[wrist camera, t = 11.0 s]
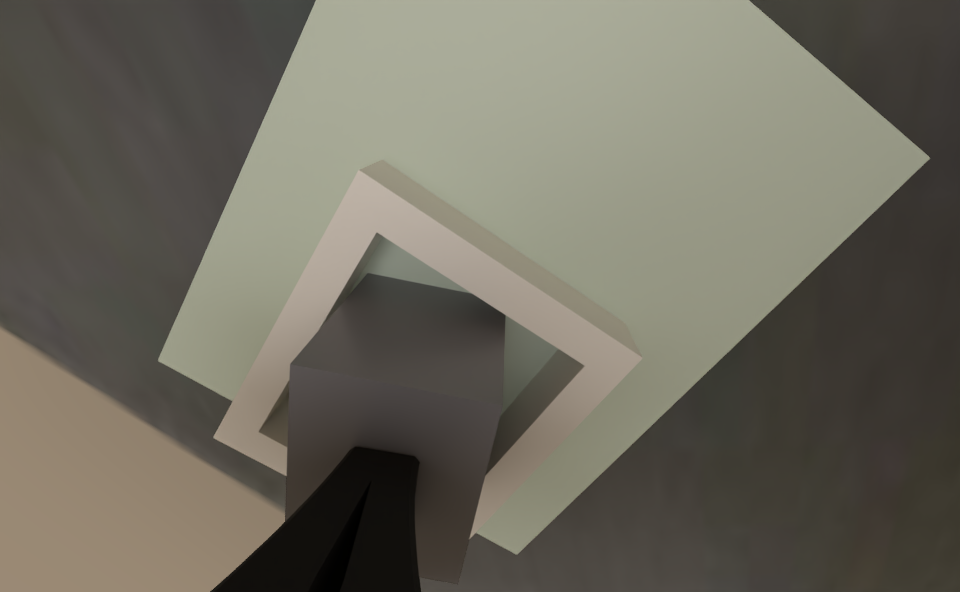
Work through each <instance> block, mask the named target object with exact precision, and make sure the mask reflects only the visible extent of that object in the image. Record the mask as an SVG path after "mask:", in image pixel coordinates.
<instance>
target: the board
mask: <svg viewBox="0 0 960 592" xmlns="http://www.w3.org/2000/svg"><path fill="white" fill-rule="evenodd" d="M929 159H930V157H929V156H928V155H926V154H925V153H924V152H923V151H922V150H921V149H919V148H918V147H917V146H916V145H915V144H914V143H913V142H911V141H910V140H909V139H908V138H907V137H906V136H904V135H903V134H902V133H901V132H900V131H899V130H898V129H896V128H895V127H894V126H893V125H892V124H891V123H890V122H888V121H887V120H886V119H885V118H884V117H883V116H881V115H880V114H879V113H878V112H877V111H876V110H875V109H873V108H872V107H871V106H870V105H869V104H868V103H867V102H865V101H864V100H863V99H862V98H861V97H860V96H858V95H857V94H856V93H855V92H854V91H853V90H852V89H850V88H849V87H848V86H847V85H846V84H845V83H843V82H842V81H841V80H840V79H839V78H838V77H837V76H835V75H834V74H833V73H832V72H831V71H830V70H829V69H827V68H826V67H825V66H824V65H823V64H822V63H820V62H819V61H818V60H817V59H816V58H815V57H814V56H812V55H811V54H810V53H809V52H808V51H807V50H805V49H804V48H803V47H802V46H801V45H800V44H799V43H797V42H796V41H795V40H794V39H793V38H792V37H791V36H789V35H788V34H787V33H786V32H785V31H784V30H782V29H781V28H780V27H779V26H778V25H777V24H776V23H774V22H773V21H772V20H771V19H770V18H769V17H768V16H766V15H765V14H764V13H763V12H762V11H761V10H759V9H758V8H757V7H756V6H755V5H754V4H753V3H751V2H750V1H749V0H316V2H315V4H314V6H313V9H312V11H311V13H310V15H309V18H308V20H307V22H306V25H305V27H304V29H303V31H302V34H301V36H300V38H299V40H298V43H297V45H296V47H295V50H294V52H293V54H292V56H291V59H290V61H289V63H288V65H287V68H286V70H285V72H284V75H283V77H282V79H281V81H280V84H279V86H278V88H277V91H276V93H275V95H274V97H273V100H272V102H271V104H270V106H269V109H268V111H267V113H266V116H265V118H264V120H263V122H262V125H261V127H260V129H259V131H258V134H257V136H256V138H255V141H254V143H253V145H252V147H251V150H250V152H249V154H248V156H247V159H246V161H245V163H244V166H243V168H242V170H241V172H240V175H239V177H238V179H237V182H236V184H235V186H234V188H233V191H232V193H231V195H230V197H229V200H228V202H227V204H226V207H225V209H224V211H223V213H222V216H221V218H220V220H219V222H218V225H217V227H216V229H215V232H214V234H213V236H212V238H211V241H210V243H209V245H208V248H207V250H206V252H205V254H204V257H203V259H202V261H201V263H200V266H199V268H198V270H197V273H196V275H195V277H194V279H193V282H192V284H191V286H190V288H189V291H188V293H187V295H186V298H185V300H184V302H183V304H182V307H181V309H180V311H179V314H178V316H177V318H176V320H175V323H174V325H173V327H172V329H171V332H170V334H169V336H168V339H167V341H166V343H165V345H164V348H163V350H162V352H161V354H160V357H159V359H158V361H159V362H161V363H163V364H165V365H167V366H168V367H170V368H172V369H174V370H176V371H178V372H180V373H181V374H183V375H185V376H187V377H189V378H191V379H193V380H194V381H196V382H198V383H200V384H202V385H204V386H205V387H207V388H209V389H211V390H213V391H215V392H217V393H218V394H220V395H222V396H224V397H226V398H228V399H230V400H231V401H233V400H234V398H235V396H236V395H237V393H238V391H239V389H240V387H241V385H242V383H243V382H244V380H245V378H246V376H247V374H248V372H249V371H250V369H251V367H252V365H253V363H254V361H255V360H256V358H257V356H258V354H259V352H260V350H261V349H262V347H263V345H264V343H265V341H266V339H267V338H268V336H269V334H270V332H271V330H272V328H273V326H274V325H275V323H276V321H277V319H278V317H279V315H280V314H281V312H282V310H283V308H284V306H285V304H286V303H287V301H288V299H289V297H290V295H291V293H292V292H293V290H294V288H295V286H296V284H297V282H298V281H299V279H300V277H301V275H302V273H303V271H304V269H305V268H306V266H307V264H308V262H309V260H310V258H311V257H312V255H313V253H314V251H315V249H316V247H317V246H318V244H319V242H320V240H321V238H322V236H323V235H324V233H325V231H326V229H327V227H328V225H329V224H330V222H331V220H332V218H333V216H334V214H335V212H336V211H337V209H338V207H339V205H340V203H341V201H342V200H343V198H344V196H345V194H346V192H347V190H348V189H349V187H350V185H351V183H352V181H353V179H354V178H355V176H356V174H357V172H358V170H359V169H362V168H364V167H366V166H369V165H371V164H373V163H376V162H378V161H380V160H384V161H385V162H387V163H388V164H390V165H391V166H393V167H394V168H396V169H397V170H399V171H400V172H402V173H403V174H405V175H406V176H408V177H409V178H411V179H412V180H414V181H415V182H417V183H418V184H419V185H421V186H422V187H424V188H425V189H427V190H428V191H430V192H431V193H433V194H434V195H436V196H437V197H439V198H440V199H442V200H443V201H445V202H446V203H448V204H449V205H451V206H452V207H454V208H455V209H457V210H458V211H460V212H461V213H463V214H464V215H466V216H467V217H469V218H470V219H471V220H473V221H474V222H476V223H477V224H479V225H480V226H482V227H483V228H485V229H486V230H488V231H489V232H491V233H492V234H494V235H495V236H497V237H498V238H500V239H501V240H503V241H504V242H506V243H507V244H509V245H510V246H512V247H513V248H515V249H516V250H518V251H519V252H521V253H522V254H524V255H525V256H526V257H528V258H529V259H531V260H532V261H534V262H535V263H537V264H538V265H540V266H541V267H543V268H544V269H546V270H547V271H549V272H550V273H552V274H553V275H555V276H556V277H558V278H559V279H561V280H562V281H564V282H565V283H567V284H568V285H570V286H571V287H573V288H574V289H576V290H577V291H578V292H580V293H581V294H583V295H584V296H586V297H587V298H589V299H590V300H592V301H593V302H595V303H596V304H598V305H599V306H601V307H602V308H604V309H605V310H607V311H608V312H610V313H611V314H613V315H614V316H616V317H617V318H619V319H620V320H622V321H623V322H625V324H626V326H627V328H628V330H629V332H630V334H631V336H632V338H633V340H634V342H635V344H636V345H637V347H638V349H639V351H640V353H641V355H642V357H643V358H642V360H641V361H640V362H639V363H638V364H637V365H636V366H635V367H634V368H633V369H632V370H631V371H630V372H629V373H628V374H627V375H626V376H625V377H624V378H623V379H622V380H621V381H620V382H619V384H618V385H617V386H616V387H615V388H614V389H613V390H612V391H611V392H610V393H609V394H608V395H607V396H606V397H605V398H604V399H603V400H602V401H601V402H600V403H599V404H598V405H597V406H596V408H595V409H594V410H593V411H592V412H591V413H590V414H589V415H588V416H587V417H586V418H585V419H584V420H583V421H582V422H581V423H580V424H579V425H578V426H577V427H576V428H575V429H574V430H573V432H572V433H571V434H570V435H569V436H568V437H567V438H566V439H565V440H564V441H563V442H562V443H561V444H560V445H559V446H558V447H557V448H556V449H555V450H554V451H553V452H552V453H551V455H550V456H549V457H548V458H547V459H546V460H545V461H544V462H543V463H542V464H541V465H540V466H539V467H538V468H537V469H536V470H535V471H534V472H533V473H532V474H531V475H530V476H529V477H528V479H527V480H526V481H525V482H524V483H523V484H522V485H521V486H520V487H519V488H518V489H517V490H516V491H515V492H514V493H513V494H512V495H511V496H510V497H509V498H508V499H507V500H506V501H505V503H504V504H503V505H502V506H501V507H500V508H499V509H498V510H497V511H496V512H495V513H494V514H493V515H492V516H491V517H490V518H489V519H488V520H487V521H486V522H485V523H484V524H483V525H482V527H481V528H480V529H479V530H478V531H477V532H476V533H477V534H479V535H481V536H483V537H485V538H487V539H488V540H490V541H492V542H494V543H496V544H498V545H500V546H501V547H503V548H505V549H507V550H509V551H511V552H513V553H514V554H516V555H517V554H518V553H519V552H520V551H521V550H522V549H523V548H524V547H525V546H526V545H527V544H529V543H530V542H531V541H532V540H533V539H534V538H535V537H536V536H537V535H538V534H539V533H540V532H541V531H542V530H543V529H544V528H545V527H546V526H547V525H548V524H549V523H550V522H551V521H553V520H554V519H555V518H556V517H557V516H558V515H559V514H560V513H561V512H562V511H563V510H564V509H565V508H566V507H567V506H568V505H569V504H570V503H571V502H572V501H573V500H574V499H575V498H576V497H578V496H579V495H580V494H581V493H582V492H583V491H584V490H585V489H586V488H587V487H588V486H589V485H590V484H591V483H592V482H593V481H594V480H595V479H596V478H597V477H598V476H599V475H600V474H602V473H603V472H604V471H605V470H606V469H607V468H608V467H609V466H610V465H611V464H612V463H613V462H614V461H615V460H616V459H617V458H618V457H619V456H620V455H621V454H622V453H623V452H624V451H625V450H627V449H628V448H629V447H630V446H631V445H632V444H633V443H634V442H635V441H636V440H637V439H638V438H639V437H640V436H641V435H642V434H643V433H644V432H645V431H646V430H647V429H648V428H649V427H651V426H652V425H653V424H654V423H655V422H656V421H657V420H658V419H659V418H660V417H661V416H662V415H663V414H664V413H665V412H666V411H667V410H668V409H669V408H670V407H671V406H672V405H673V404H674V403H676V402H677V401H678V400H679V399H680V398H681V397H682V396H683V395H684V394H685V393H686V392H687V391H688V390H689V389H690V388H691V387H692V386H693V385H694V384H695V383H696V382H697V381H698V380H700V379H701V378H702V377H703V376H704V375H705V374H706V373H707V372H708V371H709V370H710V369H711V368H712V367H713V366H714V365H715V364H716V363H717V362H718V361H719V360H720V359H721V358H722V357H724V356H725V355H726V354H727V353H728V352H729V351H730V350H731V349H732V348H733V347H734V346H735V345H736V344H737V343H738V342H739V341H740V340H741V339H742V338H743V337H744V336H745V335H746V334H747V333H749V332H750V331H751V330H752V329H753V328H754V327H755V326H756V325H757V324H758V323H759V322H760V321H761V320H762V319H763V318H764V317H765V316H766V315H767V314H768V313H769V312H770V311H771V310H773V309H774V308H775V307H776V306H777V305H778V304H779V303H780V302H781V301H782V300H783V299H784V298H785V297H786V296H787V295H788V294H789V293H790V292H791V291H792V290H793V289H794V288H795V287H796V286H798V285H799V284H800V283H801V282H802V281H803V280H804V279H805V278H806V277H807V276H808V275H809V274H810V273H811V272H812V271H813V270H814V269H815V268H816V267H817V266H818V265H819V264H820V263H822V262H823V261H824V260H825V259H826V258H827V257H828V256H829V255H830V254H831V253H832V252H833V251H834V250H835V249H836V248H837V247H838V246H839V245H840V244H841V243H842V242H843V241H844V240H845V239H847V238H848V237H849V236H850V235H851V234H852V233H853V232H854V231H855V230H856V229H857V228H858V227H859V226H860V225H861V224H862V223H863V222H864V221H865V220H866V219H867V218H868V217H869V216H871V215H872V214H873V213H874V212H875V211H876V210H877V209H878V208H879V207H880V206H881V205H882V204H883V203H884V202H885V201H886V200H887V199H888V198H889V197H890V196H891V195H892V194H893V193H894V192H896V191H897V190H898V189H899V188H900V187H901V186H902V185H903V184H904V183H905V182H906V181H907V180H908V179H909V178H910V177H911V176H912V175H913V174H914V173H915V172H916V171H917V170H918V169H920V168H921V167H922V166H923V165H924V164H925V163H926V162H927V161H928V160H929ZM367 273H371V274H376V275H381V276H386V277H391V278H396V279H401V280H406V281H411V282H416V283H421V284H426V285H431V286H436V287H441V288H446V289H451V290H456V291H462V292H467V293H471V292H469V291H467V290H466V289H464V288H463V287H461V286H460V285H458V284H457V283H455V282H453V281H452V280H450V279H449V278H447V277H446V276H444V275H443V274H441V273H439V272H438V271H436V270H435V269H433V268H432V267H430V266H428V265H427V264H425V263H424V262H422V261H421V260H419V259H418V258H416V257H414V256H413V255H411V254H410V253H408V252H407V251H405V250H404V249H402V248H400V247H399V246H397V245H396V244H394V243H393V242H391V241H390V240H388V239H386V238H385V237H382V239H381V240H380V242H379V244H378V245H377V247H376V249H375V250H374V252H373V254H372V255H371V257H370V259H369V260H368V262H367V264H366V265H365V267H364V269H363V270H362V272H361V274H360V275H359V277H358V279H357V280H356V282H355V284H354V285H353V287H352V289H351V290H350V292H349V294H350V293H351V292H352V291H353V290H354V288H355V287H356V286H357V285H358V284H359V283H360V281H361V280H362V279H363V278H364V277H365V276H366V274H367ZM349 294H348V295H349ZM348 295H347V297H348ZM347 297H346V298H347ZM557 350H558V348H556V347H555V346H553V345H552V344H550V343H548V342H547V341H545V340H544V339H542V338H541V337H539V336H538V335H536V334H534V333H533V332H531V331H530V330H528V329H527V328H525V327H524V326H522V325H520V324H519V323H517V322H516V321H514V320H513V319H511V318H510V317H508V316H505V349H504V383H503V407H502V411H501V415H502V414H503V413H504V412H505V411H506V409H507V408H508V407H509V406H510V405H511V404H512V402H513V401H514V400H515V399H516V398H517V397H518V395H519V394H520V393H521V392H522V391H523V390H524V388H525V387H526V386H527V385H528V384H529V383H530V381H531V380H532V379H533V378H534V377H535V376H536V374H537V373H538V372H539V371H540V370H541V369H542V367H543V366H544V365H545V364H546V363H547V362H548V361H549V359H550V358H551V357H552V356H553V355H554V354H555V352H556V351H557ZM501 415H500V416H501Z"/></svg>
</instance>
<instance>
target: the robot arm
mask: <svg viewBox="0 0 960 592" xmlns="http://www.w3.org/2000/svg"><path fill="white" fill-rule="evenodd" d="M419 464H420V462H419V461H418V459H417V458H416V457H415V456H410V455H404V454H398V453H392V452H386V451H380V450H374V449H368V448H362V447H356V446H355V447H354V448H352V449H350V450H349V452H348V453H347V454H346V455H345V457H344V458H343V459H342V460H341V461H340V463H339V464H338V465H337V466H336V467H335V469H334V470H333V471H332V472H331V473H330V474H329V476H328V477H327V478H326V479H325V480H324V481H323V482H322V483H321V485H320V486H319V487H318V488H317V489H316V490H315V491H314V492H313V493H312V494H311V495H310V497H309V498H308V499H307V500H306V501H305V502H304V503H303V504H302V505H301V506H300V507H299V508H298V509H297V510H296V511H295V512H294V513H293V514H292V515H291V516H290V517H289V518H288V519H287V520H286V521H285V522H284V523H283V524H282V526H281V527H280V528H279V529H278V530H277V531H276V532H275V533H273V534H272V535H271V536H270V537H269V538H268V540H266V541H265V542H264V543H263V544H262V545H261V546H260V547H259V548H258V549H257V550H255V551H254V552H253V553H252V554H251V555H250V556H249V557H248V558H247V559H246V560H245V561H244V562H243V563H242V564H241V565H240V566H238V567H237V568H236V570H234V571H233V572H232V573H231V574H230V575H229V576H228V577H226V578H225V579H224V580H223V581H222V582H221V583H220V584H219V585H217V586H216V587H215V588H214V589H213V590H212V591H210V592H421V588H420V580H419V571H418V561H417V547H416V534H415V493H416V486H417V478H418V471H419Z"/></svg>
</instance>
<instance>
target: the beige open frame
mask: <svg viewBox="0 0 960 592" xmlns="http://www.w3.org/2000/svg"><path fill="white" fill-rule="evenodd" d="M382 237H385V238H386V239H388V240H390V241H391V242H393V243H394V244H396V245H397V246H399V247H400V248H402V249H404V250H405V251H407V252H408V253H410V254H411V255H413V256H414V257H416V258H418V259H419V260H421V261H422V262H424V263H425V264H427V265H428V266H430V267H432V268H433V269H435V270H436V271H438V272H439V273H441V274H443V275H444V276H446V277H447V278H449V279H450V280H452V281H453V282H455V283H457V284H458V285H460V286H461V287H463V288H464V289H466V290H467V291H469V292H471V293H472V294H474V295H475V296H477V297H478V298H480V299H481V300H483V301H485V302H486V303H488V304H489V305H491V306H492V307H494V308H495V309H497V310H499V311H500V312H502V313H503V314H505V315H506V316H508V317H510V318H511V319H513V320H514V321H516V322H517V323H519V324H520V325H522V326H524V327H525V328H527V329H528V330H530V331H531V332H533V333H534V334H536V335H538V336H539V337H541V338H542V339H544V340H545V341H547V342H548V343H550V344H552V345H553V346H555V347H556V348H558V350H557V351H556V352H555V354H554V355H553V356H552V357H551V358H550V359H549V361H548V362H547V363H546V364H545V365H544V366H543V367H542V369H541V370H540V371H539V372H538V373H537V374H536V376H535V377H534V378H533V379H532V380H531V381H530V383H529V384H528V385H527V386H526V387H525V388H524V390H523V391H522V392H521V393H520V394H519V395H518V397H517V398H516V399H515V400H514V401H513V402H512V404H511V405H510V406H509V407H508V408H507V409H506V411H505V412H504V413H503V414H502V415H501V416H500V419H499V423H498V427H497V431H496V435H495V439H494V443H493V447H492V451H491V455H490V459H489V463H488V467H487V471H486V475H485V479H484V483H483V487H482V491H481V495H480V499H479V503H478V507H477V511H476V515H475V519H474V523H473V527H472V531H471V534H470V538H471V537H472V536H473V535H474V534H475V533H476V532H477V531H478V530H479V529H480V528H481V527H482V525H483V524H484V523H485V522H486V521H487V520H488V519H489V518H490V517H491V516H492V515H493V514H494V513H495V512H496V511H497V510H498V509H499V508H500V507H501V506H502V505H503V504H504V503H505V501H506V500H507V499H508V498H509V497H510V496H511V495H512V494H513V493H514V492H515V491H516V490H517V489H518V488H519V487H520V486H521V485H522V484H523V483H524V482H525V481H526V480H527V479H528V477H529V476H530V475H531V474H532V473H533V472H534V471H535V470H536V469H537V468H538V467H539V466H540V465H541V464H542V463H543V462H544V461H545V460H546V459H547V458H548V457H549V456H550V455H551V453H552V452H553V451H554V450H555V449H556V448H557V447H558V446H559V445H560V444H561V443H562V442H563V441H564V440H565V439H566V438H567V437H568V436H569V435H570V434H571V433H572V432H573V430H574V429H575V428H576V427H577V426H578V425H579V424H580V423H581V422H582V421H583V420H584V419H585V418H586V417H587V416H588V415H589V414H590V413H591V412H592V411H593V410H594V409H595V408H596V406H597V405H598V404H599V403H600V402H601V401H602V400H603V399H604V398H605V397H606V396H607V395H608V394H609V393H610V392H611V391H612V390H613V389H614V388H615V387H616V386H617V385H618V384H619V382H620V381H621V380H622V379H623V378H624V377H625V376H626V375H627V374H628V373H629V372H630V371H631V370H632V369H633V368H634V367H635V366H636V365H637V364H638V363H639V362H640V361H641V360H642V358H643V357H642V355H641V353H640V351H639V349H638V347H637V345H636V344H635V342H634V340H633V338H632V336H631V334H630V332H629V330H628V328H627V326H626V324H625V322H623V321H622V320H620V319H619V318H617V317H616V316H614V315H613V314H611V313H610V312H608V311H607V310H605V309H604V308H602V307H601V306H599V305H598V304H596V303H595V302H593V301H592V300H590V299H589V298H587V297H586V296H584V295H583V294H581V293H580V292H578V291H577V290H576V289H574V288H573V287H571V286H570V285H568V284H567V283H565V282H564V281H562V280H561V279H559V278H558V277H556V276H555V275H553V274H552V273H550V272H549V271H547V270H546V269H544V268H543V267H541V266H540V265H538V264H537V263H535V262H534V261H532V260H531V259H529V258H528V257H526V256H525V255H524V254H522V253H521V252H519V251H518V250H516V249H515V248H513V247H512V246H510V245H509V244H507V243H506V242H504V241H503V240H501V239H500V238H498V237H497V236H495V235H494V234H492V233H491V232H489V231H488V230H486V229H485V228H483V227H482V226H480V225H479V224H477V223H476V222H474V221H473V220H471V219H470V218H469V217H467V216H466V215H464V214H463V213H461V212H460V211H458V210H457V209H455V208H454V207H452V206H451V205H449V204H448V203H446V202H445V201H443V200H442V199H440V198H439V197H437V196H436V195H434V194H433V193H431V192H430V191H428V190H427V189H425V188H424V187H422V186H421V185H419V184H418V183H417V182H415V181H414V180H412V179H411V178H409V177H408V176H406V175H405V174H403V173H402V172H400V171H399V170H397V169H396V168H394V167H393V166H391V165H390V164H388V163H387V162H385V161H384V160H380V161H378V162H376V163H373V164H371V165H369V166H366V167H364V168H362V169H359V170H358V172H357V174H356V176H355V178H354V179H353V181H352V183H351V185H350V187H349V189H348V190H347V192H346V194H345V196H344V198H343V200H342V201H341V203H340V205H339V207H338V209H337V211H336V212H335V214H334V216H333V218H332V220H331V222H330V224H329V225H328V227H327V229H326V231H325V233H324V235H323V236H322V238H321V240H320V242H319V244H318V246H317V247H316V249H315V251H314V253H313V255H312V257H311V258H310V260H309V262H308V264H307V266H306V268H305V269H304V271H303V273H302V275H301V277H300V279H299V281H298V282H297V284H296V286H295V288H294V290H293V292H292V293H291V295H290V297H289V299H288V301H287V303H286V304H285V306H284V308H283V310H282V312H281V314H280V315H279V317H278V319H277V321H276V323H275V325H274V326H273V328H272V330H271V332H270V334H269V336H268V338H267V339H266V341H265V343H264V345H263V347H262V349H261V350H260V352H259V354H258V356H257V358H256V360H255V361H254V363H253V365H252V367H251V369H250V371H249V372H248V374H247V376H246V378H245V380H244V382H243V383H242V385H241V387H240V389H239V391H238V393H237V395H236V396H235V398H234V400H233V402H232V404H231V406H230V407H229V409H228V411H227V413H226V415H225V417H224V418H223V420H222V422H221V424H220V426H219V428H218V429H217V431H216V433H215V435H214V437H213V438H214V439H216V440H218V441H220V442H222V443H224V444H226V445H228V446H230V447H232V448H234V449H235V450H237V451H239V452H241V453H243V454H245V455H247V456H249V457H251V458H253V459H255V460H256V461H258V462H260V463H262V464H264V465H266V466H268V467H270V468H272V469H274V470H276V471H278V472H279V473H281V474H283V475H285V476H287V443H288V410H289V377H290V363H291V362H292V361H293V360H294V359H295V358H296V356H297V355H298V354H299V353H300V352H301V351H302V349H303V348H304V347H305V346H306V345H307V344H308V342H309V341H310V340H311V339H312V338H313V336H314V335H315V334H316V333H317V332H318V331H319V329H320V328H321V327H322V326H323V325H324V324H325V322H326V321H327V320H328V319H329V318H330V317H331V315H332V314H333V313H334V312H335V311H336V310H337V308H338V307H339V306H340V305H341V304H342V303H343V301H344V300H345V299H346V297H347V295H348V294H349V292H350V290H351V289H352V287H353V285H354V284H355V282H356V280H357V279H358V277H359V275H360V274H361V272H362V270H363V269H364V267H365V265H366V264H367V262H368V260H369V259H370V257H371V255H372V254H373V252H374V250H375V249H376V247H377V245H378V244H379V242H380V240H381V239H382ZM470 538H469V539H470Z"/></svg>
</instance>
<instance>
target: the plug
mask: <svg viewBox="0 0 960 592" xmlns="http://www.w3.org/2000/svg"><path fill="white" fill-rule="evenodd" d="M505 316H506V315H505V314H503V313H502V312H500V311H499V310H497V309H495V308H494V307H492V306H491V305H489V304H488V303H486V302H485V301H483V300H481V299H480V298H478V297H477V296H475V295H474V294H472V293H467V292H462V291H456V290H451V289H446V288H441V287H436V286H431V285H426V284H421V283H416V282H411V281H406V280H401V279H396V278H391V277H386V276H381V275H376V274H371V273H367V274H366V276H365V277H364V278H363V279H362V280H361V281H360V283H359V284H358V285H357V286H356V287H355V288H354V290H353V291H352V292H351V293H350V294H349V295H348V297H347V298H346V299H345V300H344V301H343V303H342V304H341V305H340V306H339V307H338V308H337V310H336V311H335V312H334V313H333V314H332V315H331V317H330V318H329V319H328V320H327V321H326V322H325V324H324V325H323V326H322V327H321V328H320V329H319V331H318V332H317V333H316V334H315V335H314V336H313V338H312V339H311V340H310V341H309V342H308V344H307V345H306V346H305V347H304V348H303V349H302V351H301V352H300V353H299V354H298V355H297V356H296V358H295V359H294V360H293V361H292V362H291V363H290V377H289V410H288V443H287V476H286V509H285V521H286V520H287V519H288V518H289V517H290V516H291V515H292V514H293V513H294V512H295V511H296V510H297V509H298V508H299V507H300V506H301V505H302V504H303V503H304V502H305V501H306V500H307V499H308V498H309V497H310V495H311V494H312V493H313V492H314V491H315V490H316V489H317V488H318V487H319V486H320V485H321V483H322V482H323V481H324V480H325V479H326V478H327V477H328V476H329V474H330V473H331V472H332V471H333V470H334V469H335V467H336V466H337V465H338V464H339V463H340V461H341V460H342V459H343V458H344V457H345V455H346V454H347V453H348V452H349V450H350V449H352V448H354V447H355V446H356V447H362V448H368V449H374V450H380V451H386V452H392V453H398V454H404V455H410V456H415V457H416V458H417V459H418V461H419V462H420V464H419V471H418V478H417V486H416V493H415V534H416V547H417V561H418V571H419V577H421V578H427V579H432V580H437V581H442V582H448V583H453V584H458V582H459V578H460V574H461V570H462V566H463V562H464V558H465V554H466V550H467V546H468V542H469V538H470V534H471V531H472V527H473V523H474V519H475V515H476V511H477V507H478V503H479V499H480V495H481V491H482V487H483V483H484V479H485V475H486V471H487V467H488V463H489V459H490V455H491V451H492V447H493V443H494V439H495V435H496V431H497V427H498V423H499V419H500V415H501V411H502V407H503V383H504V349H505Z"/></svg>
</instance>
